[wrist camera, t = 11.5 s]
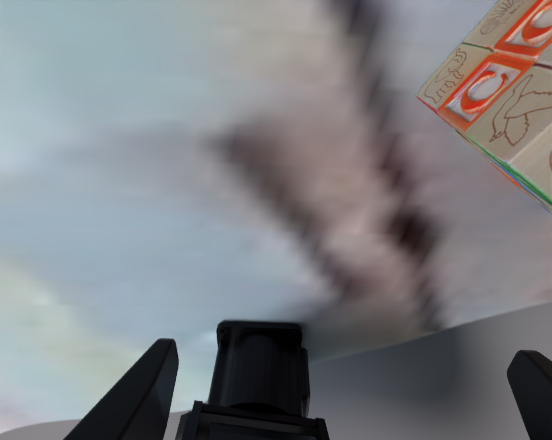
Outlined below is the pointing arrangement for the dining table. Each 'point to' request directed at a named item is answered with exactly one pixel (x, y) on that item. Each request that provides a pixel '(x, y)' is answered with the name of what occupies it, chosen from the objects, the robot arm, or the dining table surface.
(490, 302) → the dining table surface
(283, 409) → the robot arm
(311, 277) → the dining table surface
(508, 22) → the stack of blocks
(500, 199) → the dining table surface
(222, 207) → the dining table surface
